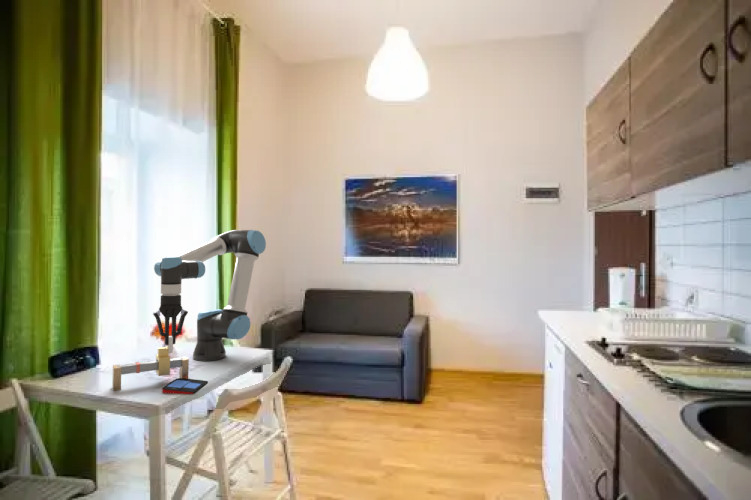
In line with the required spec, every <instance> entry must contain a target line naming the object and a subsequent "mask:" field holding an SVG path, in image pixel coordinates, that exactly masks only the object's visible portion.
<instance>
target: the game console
mask: <svg viewBox="0 0 751 500" xmlns="http://www.w3.org/2000/svg"><path fill="white" fill-rule="evenodd" d="M208 383H209V381H208V380H203V379H196V378H195V379H194V378H188V379H186V378H179V377H178V378H175V379H173V380H172V381H170V382H169V383H167V384H166V385H164V386H162V388H161V389H162V391H161V392H162V393H163V394H172V395H175V394H176V395H177V394H179V395H181V394H182V395H193V394H196V393H197V392H198V391H200V390H201V389H202V388H203V387H204V386H206V385H207V384H208Z"/></svg>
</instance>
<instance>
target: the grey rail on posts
mask: <svg viewBox="0 0 751 500" xmlns="http://www.w3.org/2000/svg"><path fill="white" fill-rule="evenodd" d="M189 360H190V359H189V358H188V356H180V357H176V358H170V369H174V368H179V377H178V378H186V379H189V370H190V369H189V365H190V364H189ZM156 370H158V361H156V360H152V361H142V362H139V361H137V362H134V363H126V364H113V365H112V386H111V387H112V390H113V392H115V391H116V392H117V391H121V390H122V375H129V374H140V373H145V372H152V371H156Z"/></svg>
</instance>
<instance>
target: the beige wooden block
mask: <svg viewBox="0 0 751 500" xmlns="http://www.w3.org/2000/svg"><path fill="white" fill-rule="evenodd" d="M169 354H170V353H169V348H168V347H167V346H162V347H157V354H156V355H155V361H158V370H155V373H156V374H157V376H158V377H162V376H170V375H171V368H170V359H171V357H170V355H169Z"/></svg>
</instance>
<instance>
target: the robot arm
mask: <svg viewBox="0 0 751 500" xmlns="http://www.w3.org/2000/svg"><path fill="white" fill-rule="evenodd" d="M266 246H267V243H266V238H265V235H264V234H263V233H262V232H261V231H259V230H254V229H244V230H243V229H233V230H229V231H225V232H224V233H221V234H218V235H216V236H214V237H213V238H211V239H210V241H208V242H205V243H203V244H200V245H198V246H197V247H194V248H192V249H190V250H189V249H188V250H187V251H185V252H183V253H181V254H177V255H176V256H163V257H161V259H159V260H157V261H156V262H155V264H154V267H153V270H154V273H155V274H156V275H157V276H158V277H160V294H161V295H160V306H159V308H158V310H156V311H154V312H152V315H153V317H155V320H156V323H157V324H156V325H157V328H158V332H159V335H160V336H161V337H164V345H165V346H166V347H168V348H169V354H174V353H173V352H174V351H173V349H174V348H173V347H174V345H175V344H176V341H177V340H176V337H177V336H179V335H181V332H182V330H183V327H184V326H183V325H184V322H185V319H186V316H187V315H188V313H189V312H188V311H187V310H185V309H184V308H183V306H182V294H181V293H182V280H186V279H187V280H189V279H200V278H202V277H204V275H205V273H206V265H205V264H204V262H206V261H207V260H209V259H212V258H214V257H215V256H223V255H225V254H231V253H233V254H234V256H235V258H236V261H235V265H234V272H233V275H232V280H231V285H230V288H229V295H228V299H227V305H226V306H224V307H223V308H222V309H221V308H220V309H211V310H210V309H209V310H204V311H200V312H198V314H197V318H196V319H197V320H196V335H197V337H196V343H195V347H194V349H193V353H192V359H193V360H195V361H202V362H207V361H218V360H222V359H224V358H225V357H226V355H227V353H226V352H227V350H226V348H225V345H224V343H223V339H229V340H241V339H243V338H244V337H245V336H247V335H248V333H249V331H250V328H251V324H252V323H251V319H250V317H249V316H248V311H247V309H246V305H247V301H248V296H249V291H250V287H251V286H250V285H251V281H252V275H253V270H254V265H255V262H256V261H257V260H259V256H260V255H261V254H262V253H264V252H265V250H266ZM161 315H162V316H163V317H164V328H163V324H162V321H161V317H160V316H161ZM179 315H180V318H179V321H178V325H177V316H179ZM170 320H171V335H170ZM223 357H224V358H223ZM221 358H222V359H221Z"/></svg>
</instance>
